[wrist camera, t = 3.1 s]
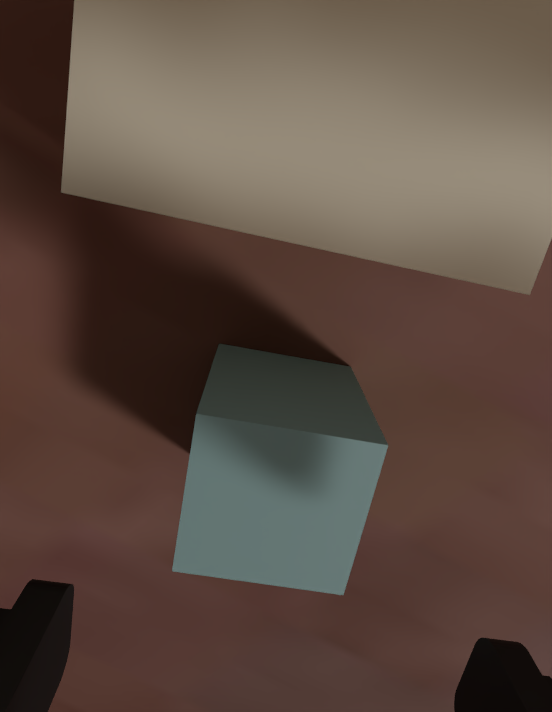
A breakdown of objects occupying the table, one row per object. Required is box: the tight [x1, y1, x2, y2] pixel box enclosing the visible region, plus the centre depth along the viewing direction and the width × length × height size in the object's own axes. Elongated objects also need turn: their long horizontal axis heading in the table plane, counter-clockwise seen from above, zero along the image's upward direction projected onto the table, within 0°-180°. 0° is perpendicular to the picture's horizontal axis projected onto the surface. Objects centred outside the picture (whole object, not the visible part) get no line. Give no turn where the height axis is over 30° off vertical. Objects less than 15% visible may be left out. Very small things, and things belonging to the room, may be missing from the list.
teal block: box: [172, 344, 388, 595], centre depth 16 cm, size 5×5×6 cm
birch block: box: [61, 0, 552, 295], centre depth 12 cm, size 11×11×6 cm
